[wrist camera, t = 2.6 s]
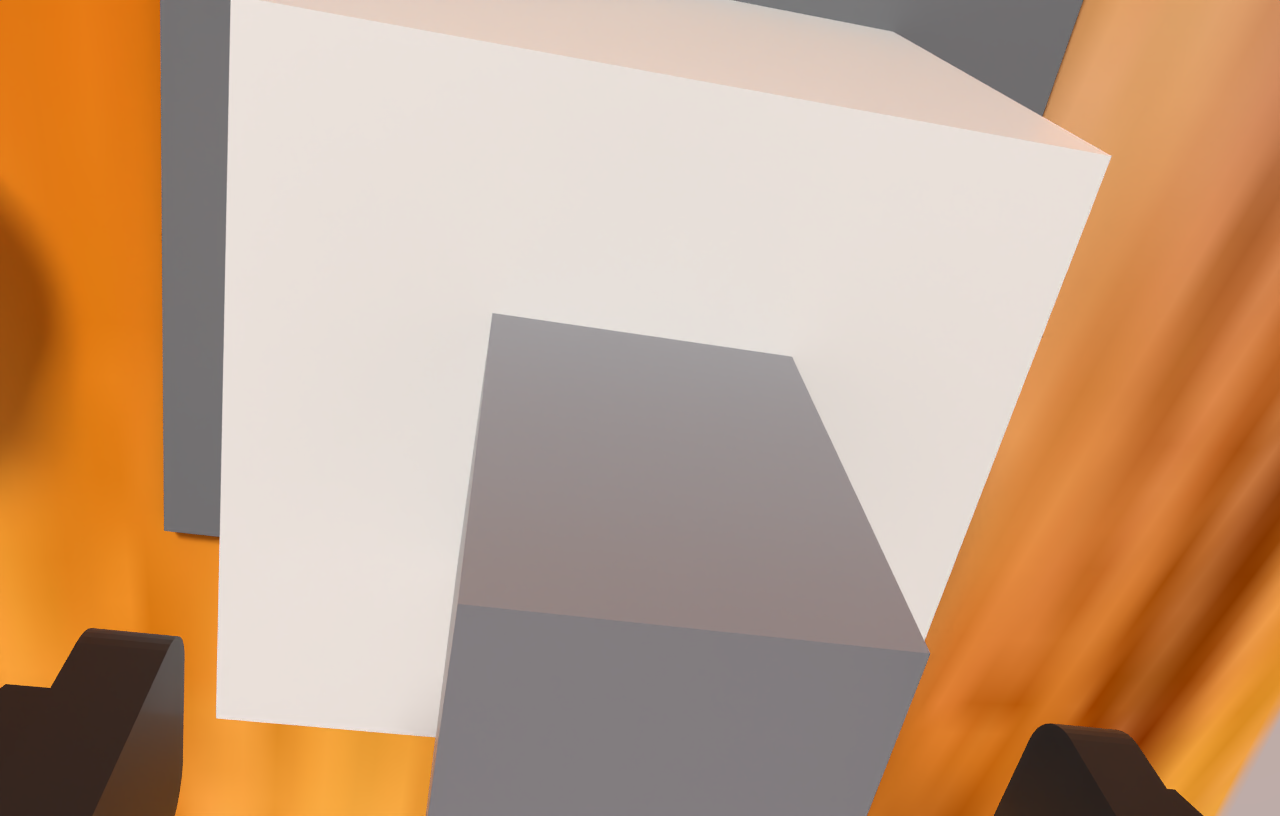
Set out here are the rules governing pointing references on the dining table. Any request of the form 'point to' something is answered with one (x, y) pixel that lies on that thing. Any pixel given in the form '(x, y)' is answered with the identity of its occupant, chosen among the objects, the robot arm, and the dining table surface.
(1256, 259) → the dining table surface
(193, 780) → the dining table surface
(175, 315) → the mat
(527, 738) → the cover
